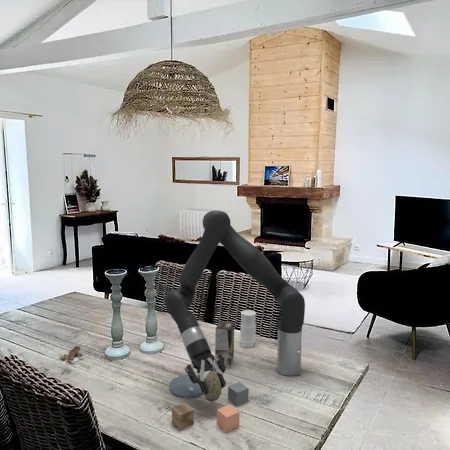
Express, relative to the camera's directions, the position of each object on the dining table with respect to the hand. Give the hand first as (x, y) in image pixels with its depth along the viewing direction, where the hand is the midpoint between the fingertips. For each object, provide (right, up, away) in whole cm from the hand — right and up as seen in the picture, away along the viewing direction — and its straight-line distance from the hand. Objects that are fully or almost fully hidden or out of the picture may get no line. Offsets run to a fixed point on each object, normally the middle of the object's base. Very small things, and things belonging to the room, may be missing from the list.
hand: (215, 390), depth 136 cm
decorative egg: (-1, -4, +2) cm, 5 cm away
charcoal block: (+8, -7, +9) cm, 14 cm away
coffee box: (+3, -3, +36) cm, 36 cm away
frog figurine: (-61, -3, +39) cm, 72 cm away
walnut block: (-10, -9, -4) cm, 14 cm away
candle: (+13, -1, +53) cm, 55 cm away
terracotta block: (+4, -9, -5) cm, 11 cm away
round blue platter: (-10, -6, +17) cm, 20 cm away
